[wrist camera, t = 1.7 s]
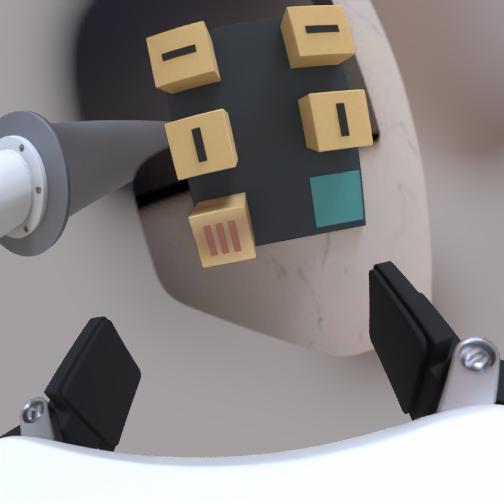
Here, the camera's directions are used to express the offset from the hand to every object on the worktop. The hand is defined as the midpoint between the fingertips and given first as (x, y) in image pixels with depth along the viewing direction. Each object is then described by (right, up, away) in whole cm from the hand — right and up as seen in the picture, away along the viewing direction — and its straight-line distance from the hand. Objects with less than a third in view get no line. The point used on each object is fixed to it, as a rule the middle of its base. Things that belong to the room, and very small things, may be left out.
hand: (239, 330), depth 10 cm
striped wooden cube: (-2, +6, +16) cm, 17 cm away
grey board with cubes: (+2, +13, +13) cm, 19 cm away
